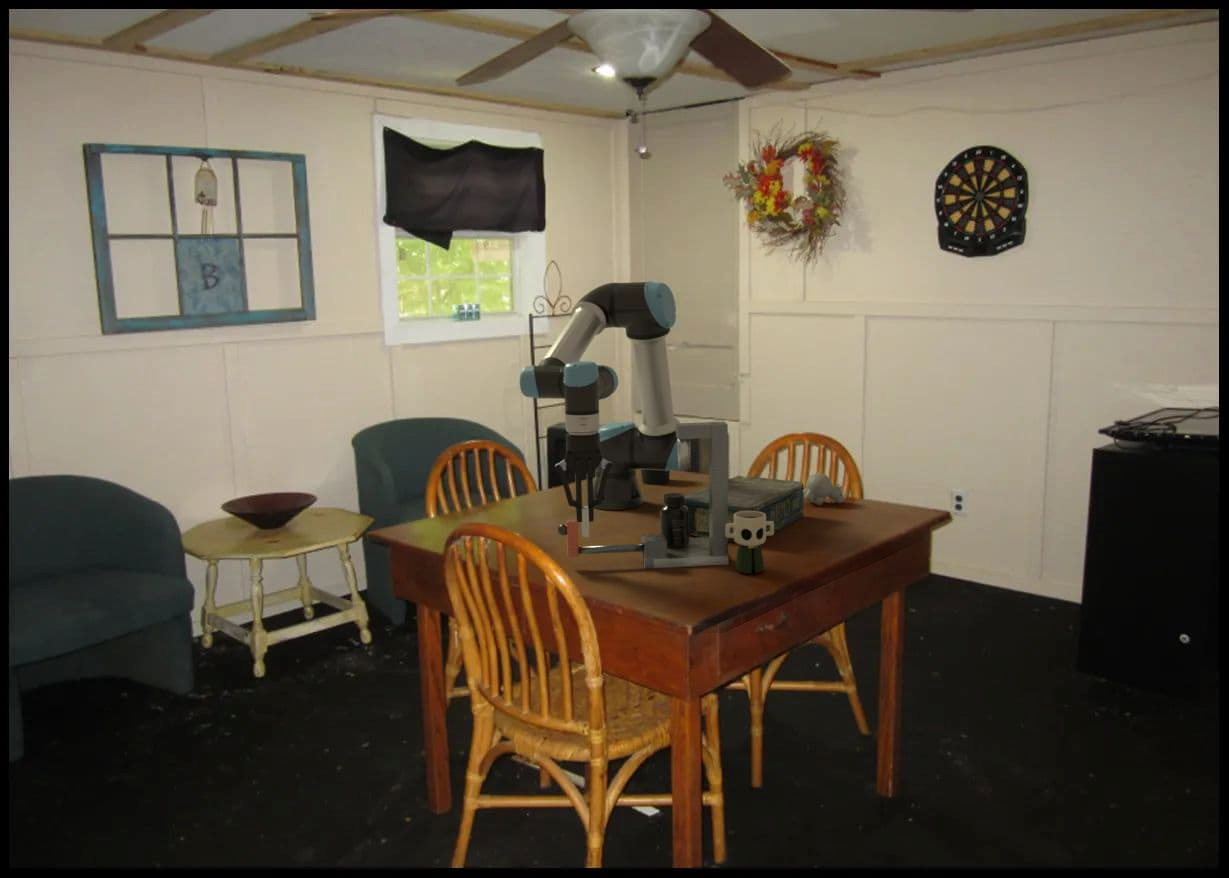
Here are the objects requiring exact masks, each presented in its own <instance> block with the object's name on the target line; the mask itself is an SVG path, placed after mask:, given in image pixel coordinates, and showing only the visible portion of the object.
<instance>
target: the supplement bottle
mask: <svg viewBox="0 0 1229 878" xmlns="http://www.w3.org/2000/svg"><path fill="white" fill-rule="evenodd" d="M684 496H685V495H684V493H679V492H669V493H664V494H663V504H664V505H663V506H662V507H661V508H660V510H659V523H660V525H659V526H660V527H659V528H660V532H659V534H663V535H664V537H665V538H666V540H667V547H668V548H681V547H685V546H687V545H688V544H689V538H690V535H689V509H688V507H687V506H685V505H684V503H685V500H684Z"/></svg>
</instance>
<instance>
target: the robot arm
mask: <svg viewBox="0 0 1229 878" xmlns="http://www.w3.org/2000/svg"><path fill="white" fill-rule="evenodd" d="M674 297H675V296H674V294H673V292H672V290H671V288H670V287H669V286H668V285H667V283H664V282H655V281H654V282H653V281H639V282H638V281H637V282H635V281H634V282H633V281H632V282H609V283H605V284H602V285H599V286H598V287H596V288H594V289H592V290H591V291H589V292H588V293H586V294H585V295H583V296H581V298H580V299H579V300H578V301H577V302H576V304H575V305H574V306H573V308H572V309H571V311H570V319H569V321H568V322H567V323H566V325H565V326H564V328H563V329H562V330H561V332H560V333H559V335H558V337H556V340H554V342H553V343H552V345H551V346H550V348H549V349H548V351H547V352H546V354H544V356H543V357H542V359H541V361H540V362H539V364H538V365H535V364H533V365H527V366H524V367H523V368H522V369H521V371H520V375H519V387H520V391H521V393H522V395H523V396H524V397H526V398H533V399H539V400H541V399H550V400H551V399H553V400H554V399H564V418H565V424H564V425H565V431H566V432H567V433H566V434H565V450H566V452H565V455H564V457H563V458H564V459H563V460H561V461H560V462H557V463H555V465H554V467H555V470H556V471H557V473H558V474H559V476H560V478H561V482H562V486H563V489H564V493H565V496H566V500H567V503H568V506H570V507H574V508H575V511H576V512H575V513H576V516H575V517H576V519H577V521H578V523H581V535H582V536H581V537H582V538H590V522H591V523H592V522H594V520H595V515H594V514H595V513H594V509H599V510H606V511H607V510H611V511H614V510H615V511H616V510H617V511H619V510H620V511H622V510H630V509H635V508H639V507H640V506H642V505H643V503H644V502H643V496H644V495H643V493H642V490H641V488H640V485H639V482H638V478H637V470H641V469H643V470H663V471H670V472H672V471H674V472H676V471H679V470H680V469H678V438H677V437H676V423H681V422H680V420H679V419H678V418H676V417H675V416H674V407H673V398H672V397H673V396H672V389H671V380H670V379H671V377H670V372H669V371H670V369H669V360H668V351H667V343H666V337H668V335H669V334H670V333H671V328H672V327H673V326H674V325H675V323H676V320H677V315H676V312H677V309H676V301H675V298H674ZM608 328H609V329H610V328H620V329H621V328H625V335H626V338H627V339H629V340H630V341H632V345H633V353H634V360H635V361H634V362H635V368H636V369H635V370H636V376H637V377H636V378H637V386H638V391H639V392H638V393H639V402H640V409H641V417H642V420H641V422H639V423H638V426H637V427H636V422H634V421H619V422H612V423H608V424H607V423H606V424H604V425H601V426H600V401H601V400H605V399H607V398H608V397H610V396H611V395H613V394H614V393H615V392H616V390H617V388H618V387H619V386H618V385H619V377H618V375H617V373H616V371H615V370H614V369H613V368H612V367H611V366H608V365H605V364H603V365H602V364H597V363H596V362H595V361H581V360H580V359H582V357H583V355H584V354H585V352H586V350H587V349H588V347H589V346H590V345H591V343H592V341H593V340H594V339H595V337H596V336H597V335H600V334H601V333H603V331H604V330H605V329H608ZM567 466H568V467H569V469H570V470H571V471H572V472H573V473H574V477H575V484H574V485H575V499H573V495H572V492H571V488H570V484H569V481H568V478H567V475H566V471H567ZM582 474H585V475H586V494H587V495H586V496H587V497H586V498H587V499H586V500H587V502H586V503H587V505H583V500H582V499H583V494H582V493H583V490H582V489H583V488H582Z"/></svg>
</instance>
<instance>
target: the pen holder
mask: <svg viewBox="0 0 1229 878" xmlns="http://www.w3.org/2000/svg"><path fill="white" fill-rule="evenodd" d="M670 472H671V471H663V470H643V469H640V475H641V482H642V483H643V484H645V483H646V484H645V485H650V484H659V485H665V483H666V484H668V483H669V482H670V474H671V473H670Z"/></svg>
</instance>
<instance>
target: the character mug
mask: <svg viewBox="0 0 1229 878" xmlns="http://www.w3.org/2000/svg"><path fill="white" fill-rule="evenodd" d="M766 525H770V531H767V532H766ZM730 527H734V533H732V534H730ZM774 533H775V532H774V522H773V521H766V514H765V513H763V512H759V511H739V512H736V513H734V523H728V524H726V526H725V536H726V538H734V540H735V542H734V543H735V544H738V546H737V552H736V560H735V570H736V571H738V572H739V573H743V574H752V571H755V574H758V573H761V572H763V571H764V570H765V567H764V566H765V565H764V558H763V550H762V546H761V545H763V544H764V543H766V540H767V537H769V536H771V537H772V536H774ZM766 536H767V537H766Z"/></svg>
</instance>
